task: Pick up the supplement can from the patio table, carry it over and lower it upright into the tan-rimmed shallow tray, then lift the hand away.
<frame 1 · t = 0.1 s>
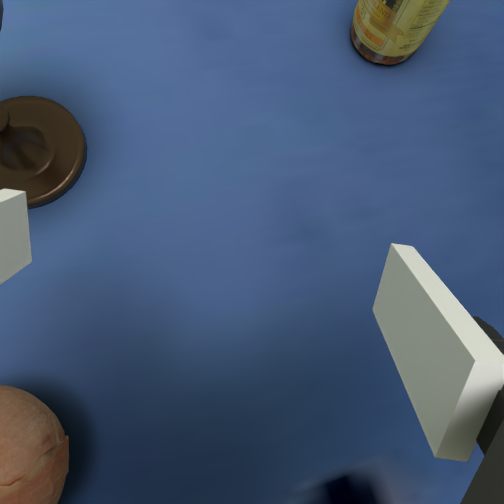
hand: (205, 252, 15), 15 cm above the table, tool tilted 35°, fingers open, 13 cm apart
onion: (21, 452, 27), on the table
candlestick: (29, 155, 32), on the table
sauce bottle: (382, 42, 35), on the table
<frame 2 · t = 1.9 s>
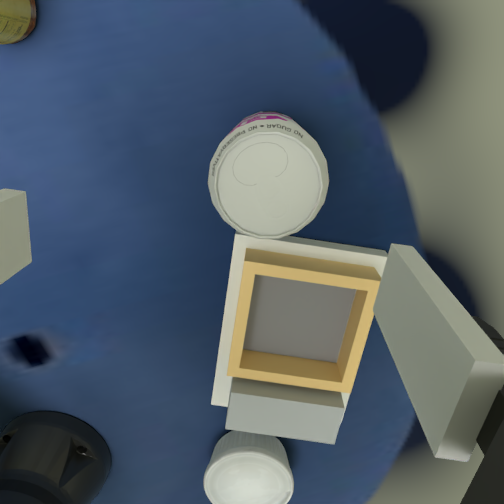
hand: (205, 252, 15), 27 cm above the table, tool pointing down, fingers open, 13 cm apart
supplement can: (267, 154, 40), on the table
tan-rimmed shallow tray: (292, 327, 47), on the table
ramekin: (249, 450, 55), on the table
sauce bottle: (8, 10, 37), on the table
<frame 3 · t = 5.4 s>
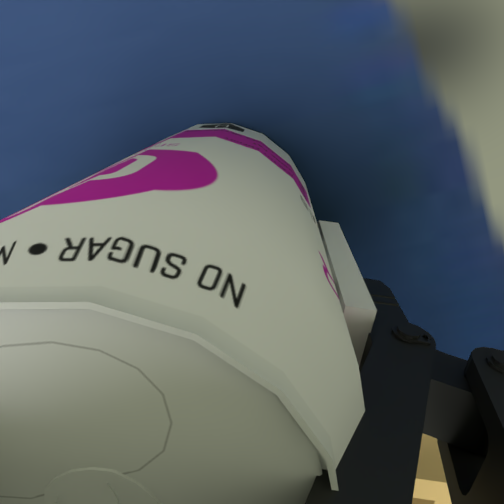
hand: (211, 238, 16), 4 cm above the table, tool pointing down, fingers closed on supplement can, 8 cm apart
supplement can: (223, 209, 20), on the table, touching gripper
tan-rimmed shallow tray: (283, 497, 27), on the table
when the fingers open (7 cm above the table, at t = 13.3 s): supplement can drops 1 cm, resting on tan-rimmed shallow tray.
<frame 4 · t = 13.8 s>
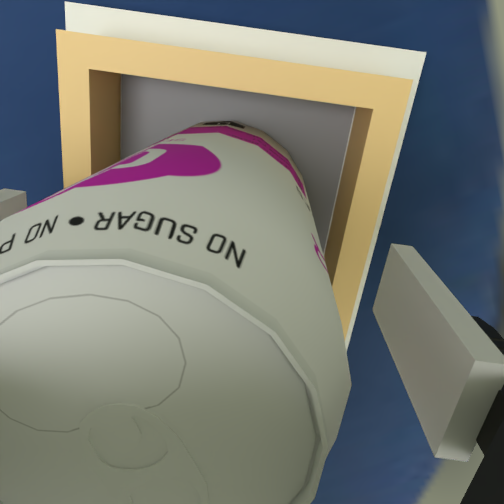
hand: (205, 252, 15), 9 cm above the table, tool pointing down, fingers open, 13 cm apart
supplement can: (225, 202, 21), point 2 cm above the table, touching tan-rimmed shallow tray
tan-rimmed shallow tray: (224, 242, 24), on the table
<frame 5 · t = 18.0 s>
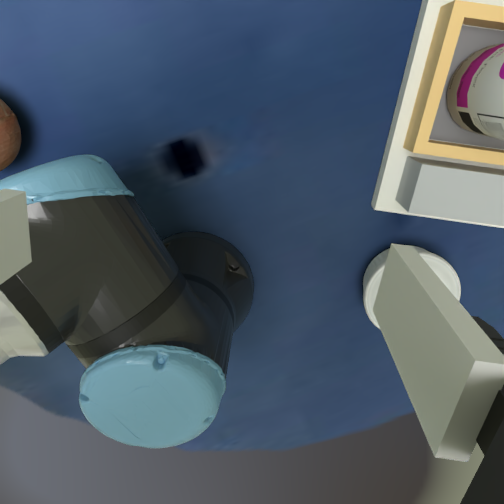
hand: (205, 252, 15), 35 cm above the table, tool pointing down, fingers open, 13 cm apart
supplement can: (484, 90, 42), point 2 cm above the table, touching tan-rimmed shallow tray
tan-rimmed shallow tray: (467, 119, 45), on the table
ramekin: (399, 277, 53), on the table
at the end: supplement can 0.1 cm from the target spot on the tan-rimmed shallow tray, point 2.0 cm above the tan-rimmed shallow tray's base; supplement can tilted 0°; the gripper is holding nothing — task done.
